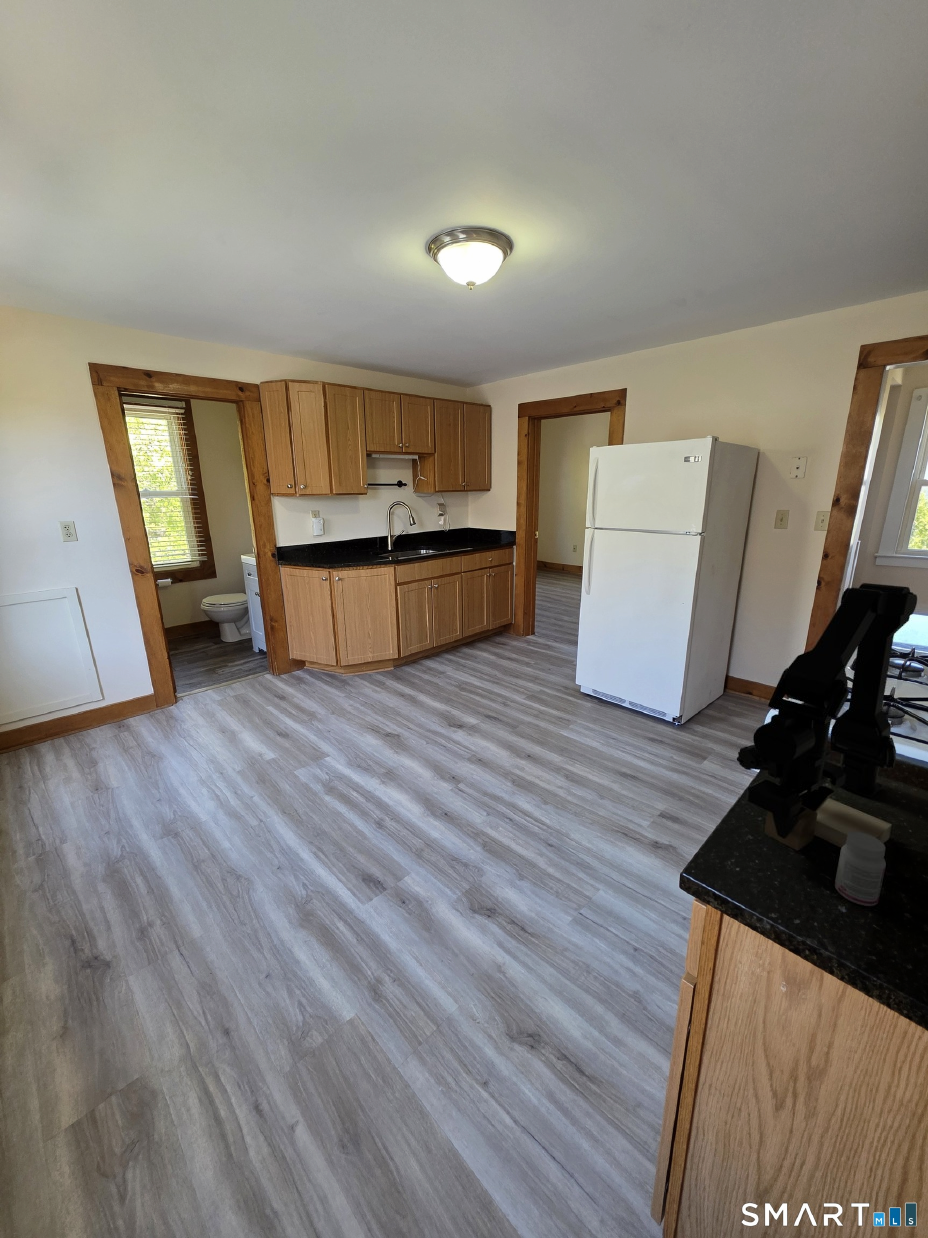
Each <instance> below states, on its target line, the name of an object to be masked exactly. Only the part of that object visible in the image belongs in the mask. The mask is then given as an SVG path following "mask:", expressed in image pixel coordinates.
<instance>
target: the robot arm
mask: <svg viewBox="0 0 928 1238" xmlns="http://www.w3.org/2000/svg"><path fill="white" fill-rule="evenodd" d="M910 589H911V588H910V587H909V586H903V585H902V586H900V585H891V584H881V583H880V584H879V583H868V582H862V583H861V584H860V585H859V587H846V589H844V591H843V593H842V594H841V598H840V605H839V606H838V608H837V609H836V611H835V613H834V614H833V616H832V617H831V619H830V621H829V623H828V624H827V626H826V627H825V629H824V630H823V632H822V634H821V636H820V637H819V639H818V640H817V642H816V643H815V645H814V646H813V647H812V649H811V650H808V651H806V652H803V653H800V654H799V655H797V656H796V657H795V658H794V660H793V661H792V662H791V664H789V666H788V667H786V668H784V671H782V673H781V676H780V678H779V680H778V682H777V685H776V687H775V689H774V691H773V693H772V695H771V697H770V700H769V702H768V705H767V706H768V708H771V709H774V710H776V711H777V710H778V711H777V712H778V713H777V714H773V715H771V717H770V721H768V722H767V723H765V724H762V725H761V726H759V727H757V728H756V731H755V732H754V733H753V744H751V745H748V746H743V747H741V748H740V749H739V751H738V752H737V755H738V756H737V757H736V761H737V762H738V764H739V766H740V767H742V768H744V769H745V770H748V771H751V770H756V771H757V770H758V771H768V772H767V775H768V776H769V777H771V778H774V779H777V778H778V779H779V781H777V782H774V781H772V780H769V779H767V778H766V779H763V780H760V781H757V782H755V783H754V784H752V785H750V786H748V787H746V789H747V790H746V794H745V795H746V797H745V798H746V800H747V802H749V803H750V804H752V805H755V806H757V807H759V808H761V809H763V810H765V811H766V812H767V811H769V812H771V813H772V816H773V819H774V823H775V827H776V831H777V835H778V836H780V837H781V838H783V839H785V838H786V837H787V836H788V835H789V833H790V832H791V831H792V829H793V828H794V826H795V825H796V824H797V822H798V821H799V820H800V818H801V817H802V816H803V814H804V813H805V812H806V810H807V809H805V808H803V807H801V805H802V806H804V807H807V808H809V809H811V810H813V811H815V812H816V811H817V810H818V809H819V808H820V807H821V806H822V805H823V804H824V803H825V801H826V800H827V799H828V798H831V796H833V794H834V793H835V791H834V790H833V789H832V788H830V787H827V786H825V785H826V783H827V779H829V782H830V783H831V787H833V788H835V789H839V788H840V787H841V788H843V789H846V790H849V791H851V792H853V793H856V794H858V795H861V796H863V797H865V798H871V797H872V796H874V795H875V794H877V793H879V792H880V791H881V790H883V788H884V785H883V784H880V783H878V775H879V773H880V772H879V771H880V768H881V769H884V770H885V769H886V768H891V769H892V768H895V764H896V755H897V749H896V746H895V743H894V739H893V737H891V731H892V730H891V729H892V724H891V722H890V720H889V719H888V718H887V716H886V715H885V712H884V711H883V704H884V698H885V691H886V686H887V681H888V680H887V679H888V673H889V668H890V660H891V654H892V649H893V642H894V638H895V634H896V633H897V632H898V631H899V630H901V628H902V627H904V626H905V625H906V624H907V623H908V622H909V621H910V617H911V615H913V614H914V613H915V610H916V608H917V604H918V596H917V594H915V593H914V592H911V590H910ZM855 652H856V656H855V664H854V671H853V679H852V684H851V690H849V689H848V687H849V686H848V685H849V684H848V683H849V682H848V678H847V673H846V672H847V671H846V669H847V666H848V664H849V662H850V660H851V658H852V656H853V655H854V654H855ZM850 691H851V692H850ZM849 695H850V697H849ZM785 696H786V698H788V699H791V700H788V699H786V698H785ZM848 698H850V699H849V706H848V708H847V709H846V710H845V711H844V712H842V713H841V710H842V709H843V707H844V705H845V703H846V701H847V699H848ZM793 700H795V701H793ZM796 701H797V702H796ZM799 702H802V703H799ZM840 713H841V714H840ZM839 714H840V715H839ZM838 716H839V717H838ZM833 719H835V720H834V723H833V725H832V727H831V723H832V720H833ZM830 728H831V729H830ZM829 734H830V751H832V752H835V753H839V754H841V756H840V762H839V765H838V764H835V763H833V762H829V760H831V755H832V753H831V752H829V751H827V747H828V741H829Z"/></svg>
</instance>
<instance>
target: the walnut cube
mask: <svg viewBox="0 0 928 1238" xmlns="http://www.w3.org/2000/svg"><path fill="white" fill-rule="evenodd" d="M801 807H803V808H805V809H807V810H806V812H805V813H804V814H803V816H802V817H801V818H800V820H799V821H798V822H797V824H796V825H795V826H794V828H793V829H792V831H791V832H790V833H789V835H788V836H787V837H786V838H785V839H783V838H781V837H780V836H778V835H777V831H776V827H775V823H774V819H773V816H772V813H771V812H769V811H767V810H766V818H765V819H766V820H765V826H764V832H763V833H764V834H765V835H767V836H769V837H770V838H773V839H774V840H776V841H778V842H780V843H782V844H783V845H786V846H787V847H789V848H790V849H792V850H794V851H796V852H798V851H799V850H801V849H802V848H804V847H806V846H807V845H808V844H809V843H811V842H812V841H814V837H815V835H814V832H815V826H816V820H817V814H818V813H817V812H815V811H813V810H811V809H809V808H807V807H804V806H802V805H801Z"/></svg>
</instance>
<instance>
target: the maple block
mask: <svg viewBox="0 0 928 1238" xmlns="http://www.w3.org/2000/svg"><path fill="white" fill-rule="evenodd" d="M816 812H817V813H818V814H817V820H816V826H815V832H814V836H817V837H819V838H821V839H823V840H825V841H826V842H829V843H831V844H832V845H835V846H837V847H838V848H841V849H842V847H843V846H844V845H845V844H846V841H847V836H848V834H849V833H851V832H860V833H865V834H868V835H870V836H873V837H875V838H877V839H878V840H880V841H881V842H882V843H883V844H884V845H885V843H886V842H888V840H889V839H890V835H891V830H892V825H893V824H892V823H889V822H887V821H884V820H882V819H881V818H877V817H875V816H873V815H870V814H868V813H865V812H862V811H860V810H858V809H856V808H853V807H852V806H849V805H846V804H843V803H842V802H839V801H837V800H834V799H832V798H831V797H829V798H828V799H827V800H826V801H825V803H824V804H823V805H822V806H821V807H820V808H819V809H818V810H817V811H816Z"/></svg>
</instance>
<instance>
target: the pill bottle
mask: <svg viewBox="0 0 928 1238" xmlns="http://www.w3.org/2000/svg"><path fill="white" fill-rule="evenodd" d="M885 854H886V845H885V843H884V844H883V843H882V842H881V841H880V840H878V839H877V838H875V837H873V836H870V835H868V834H865V833H860V832H851V833H849V834H848V836H847V841H846V844H845V845H844V846H843V847H842V848H841V849H840V855H839V859H838V864H837V870H836V875H835V881H834V887H835V889H836V891H837V892H838V893H839V894H840V895H841V896H842V897H843V898H845V899H846V900H848V901H850V902H852V903H855V904H857V905H860V906H865V907H874V906H876V905H877V904H878V903H879V900H880V894H881V889H882V885H883V881H884V875H885V871H886V867H887V866H886V865H887V863H886V860H885V858H884V857H885Z"/></svg>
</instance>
